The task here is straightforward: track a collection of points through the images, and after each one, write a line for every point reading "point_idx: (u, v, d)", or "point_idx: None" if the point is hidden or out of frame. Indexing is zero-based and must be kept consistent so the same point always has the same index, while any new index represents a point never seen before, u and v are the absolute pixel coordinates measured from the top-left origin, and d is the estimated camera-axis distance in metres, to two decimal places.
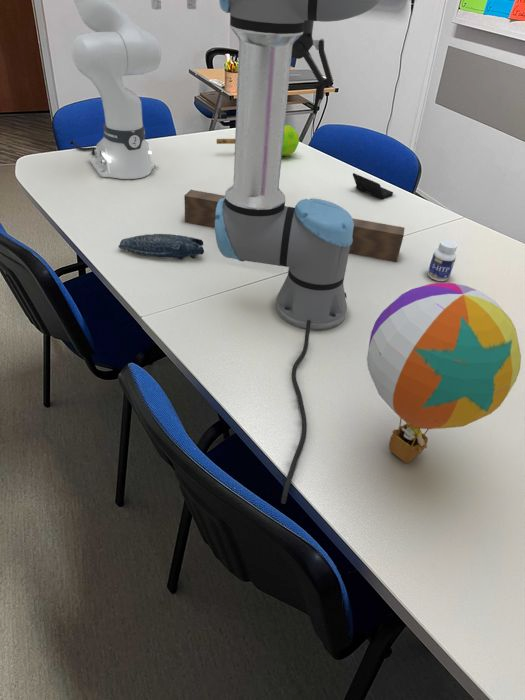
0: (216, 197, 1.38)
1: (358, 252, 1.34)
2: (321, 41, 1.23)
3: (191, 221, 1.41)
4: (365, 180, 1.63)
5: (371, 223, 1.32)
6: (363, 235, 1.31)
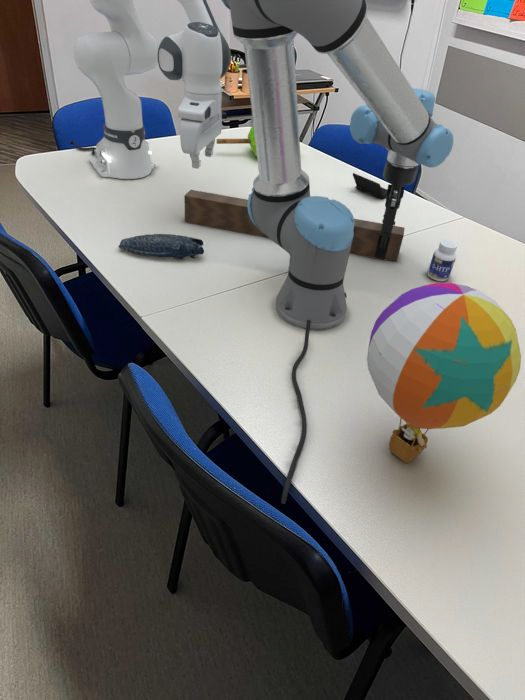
0: (216, 197, 1.38)
1: (358, 252, 1.34)
2: None
3: (191, 221, 1.41)
4: (365, 180, 1.63)
5: (371, 223, 1.32)
6: (363, 235, 1.31)
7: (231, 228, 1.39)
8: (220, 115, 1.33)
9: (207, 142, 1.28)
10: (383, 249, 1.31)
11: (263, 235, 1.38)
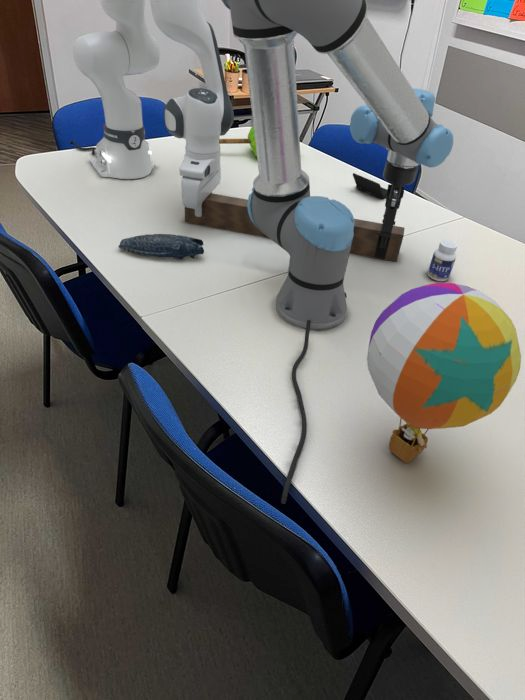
0: (216, 197, 1.38)
1: (358, 252, 1.34)
2: None
3: (191, 221, 1.41)
4: (365, 180, 1.63)
5: (371, 223, 1.32)
6: (363, 235, 1.31)
7: (231, 228, 1.39)
8: None
9: (207, 195, 1.36)
10: (383, 249, 1.31)
11: (263, 235, 1.38)
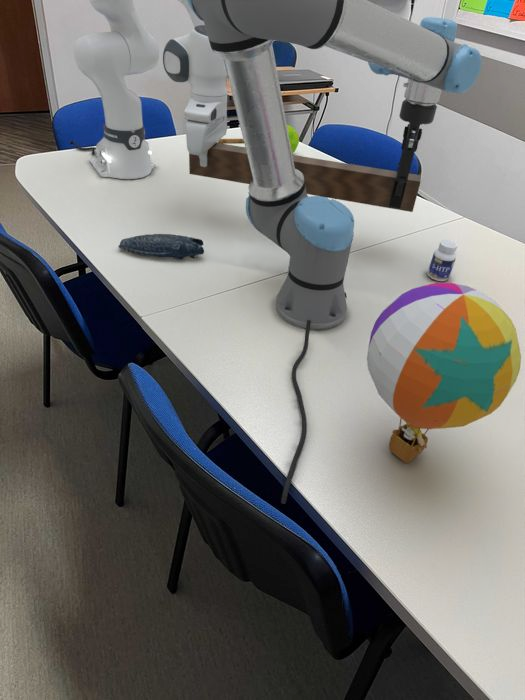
0: (222, 146, 1.32)
1: (372, 202, 1.27)
2: None
3: (196, 173, 1.35)
4: None
5: (385, 171, 1.26)
6: (377, 183, 1.24)
7: (238, 179, 1.33)
8: (225, 116, 1.35)
9: (212, 143, 1.30)
10: (398, 197, 1.24)
11: None
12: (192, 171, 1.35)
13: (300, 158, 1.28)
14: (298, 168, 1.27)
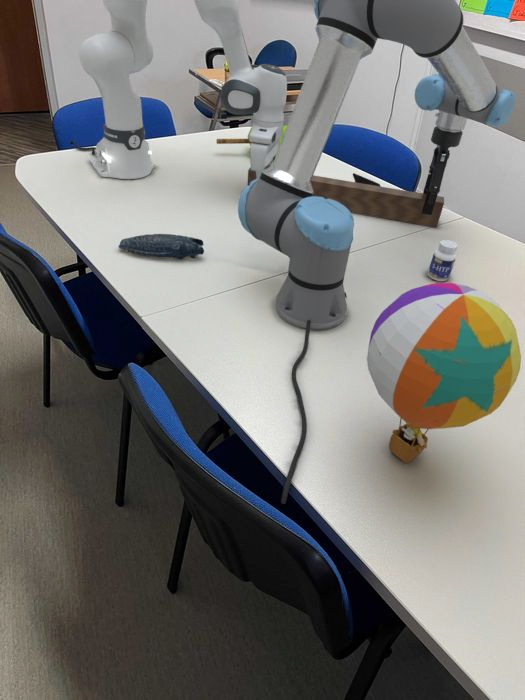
0: None
1: (402, 219, 1.52)
2: None
3: None
4: (365, 180, 1.63)
5: (414, 193, 1.51)
6: (407, 203, 1.49)
7: None
8: None
9: (269, 160, 1.53)
10: (430, 205, 1.43)
11: None
12: None
13: (342, 182, 1.53)
14: (341, 190, 1.52)
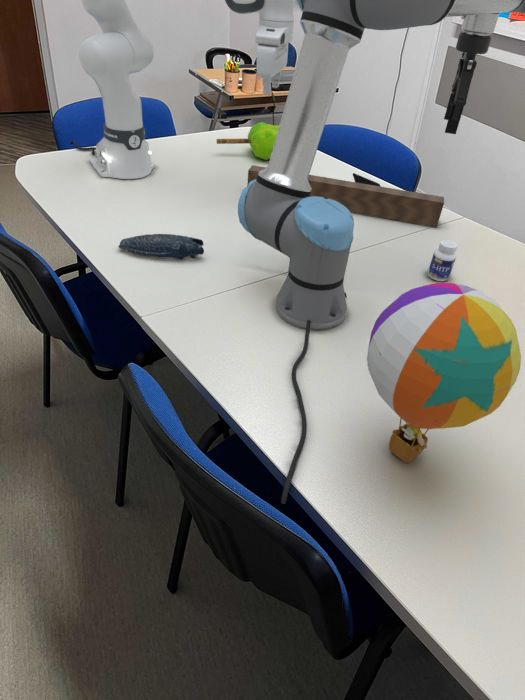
0: None
1: (402, 219, 1.52)
2: None
3: None
4: (365, 180, 1.63)
5: (414, 193, 1.51)
6: (407, 203, 1.49)
7: None
8: (287, 48, 1.43)
9: (277, 70, 1.38)
10: (455, 123, 1.30)
11: None
12: None
13: (342, 182, 1.53)
14: (341, 190, 1.52)
